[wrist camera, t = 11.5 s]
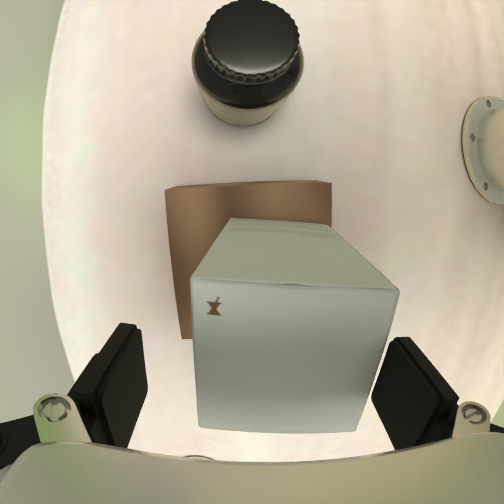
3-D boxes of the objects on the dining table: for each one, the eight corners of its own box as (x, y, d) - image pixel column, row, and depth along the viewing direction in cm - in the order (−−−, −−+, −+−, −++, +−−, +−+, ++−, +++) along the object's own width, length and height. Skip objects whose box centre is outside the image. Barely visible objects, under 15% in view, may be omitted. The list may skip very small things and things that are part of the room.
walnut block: (314, 180, 27) (331, 183, 22) (313, 305, 30) (326, 330, 25) (177, 186, 26) (164, 190, 21) (189, 312, 29) (181, 338, 24)
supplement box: (224, 310, 24) (191, 429, 12) (229, 215, 22) (185, 271, 10) (318, 316, 24) (356, 436, 12) (332, 223, 22) (405, 286, 10)
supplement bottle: (212, 135, 25) (192, 109, 13) (196, 64, 23) (170, -3, 11) (291, 119, 25) (333, 85, 13) (274, 49, 23) (300, -22, 11)
